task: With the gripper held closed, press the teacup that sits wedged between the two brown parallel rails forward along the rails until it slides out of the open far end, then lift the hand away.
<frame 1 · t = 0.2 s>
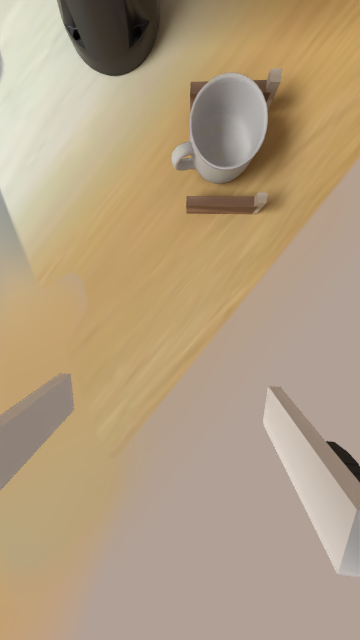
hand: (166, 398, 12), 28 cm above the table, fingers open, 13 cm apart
teacup: (211, 162, 34), on the table
brown parallel rails: (222, 161, 33), on the table
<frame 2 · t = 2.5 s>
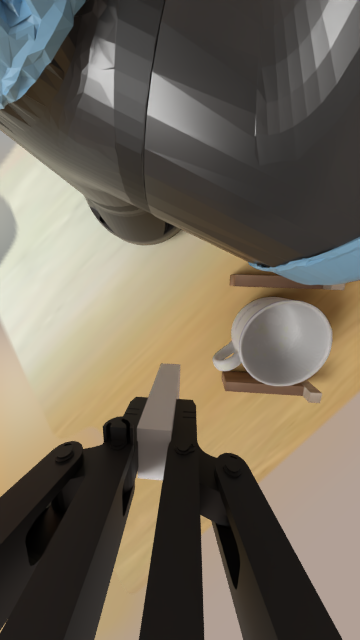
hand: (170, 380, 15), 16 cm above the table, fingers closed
teacup: (250, 330, 30), on the table
brown parallel rails: (264, 331, 30), on the table
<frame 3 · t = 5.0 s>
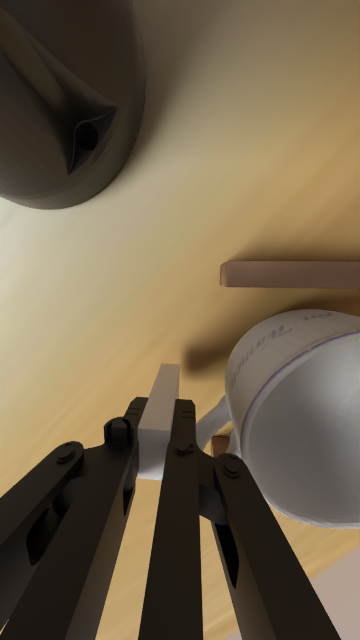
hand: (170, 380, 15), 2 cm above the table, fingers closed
teacup: (262, 368, 16), on the table, touching gripper
brown parallel rails: (287, 370, 16), on the table
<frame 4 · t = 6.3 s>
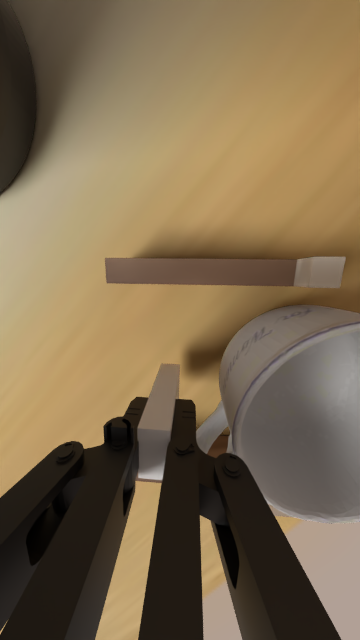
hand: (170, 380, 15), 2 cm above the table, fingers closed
teacup: (258, 367, 16), on the table, touching gripper
brown parallel rails: (197, 365, 16), on the table
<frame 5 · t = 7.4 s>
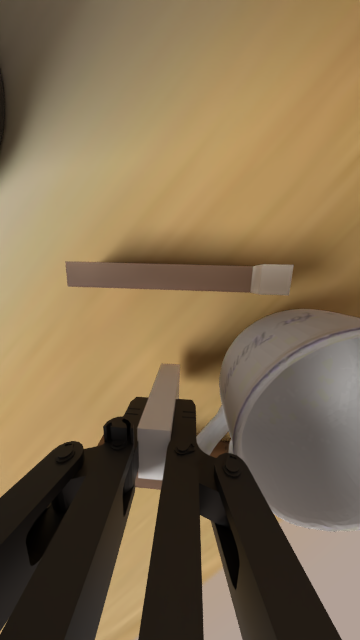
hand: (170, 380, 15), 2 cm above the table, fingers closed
teacup: (258, 371, 16), on the table, touching gripper
brown parallel rails: (168, 368, 16), on the table
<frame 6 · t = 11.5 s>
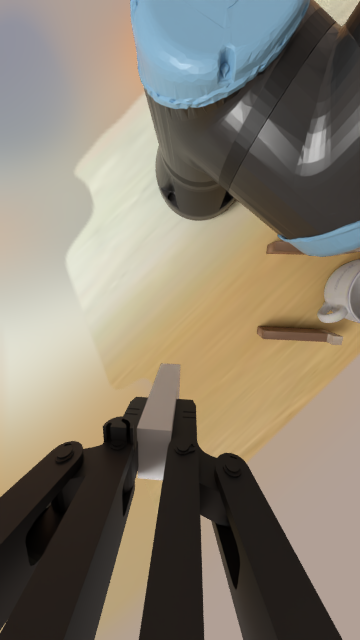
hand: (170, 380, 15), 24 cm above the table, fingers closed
teacup: (335, 293, 36), on the table
brown parallel rails: (293, 292, 36), on the table
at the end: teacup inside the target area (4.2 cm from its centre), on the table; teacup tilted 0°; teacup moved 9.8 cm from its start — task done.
